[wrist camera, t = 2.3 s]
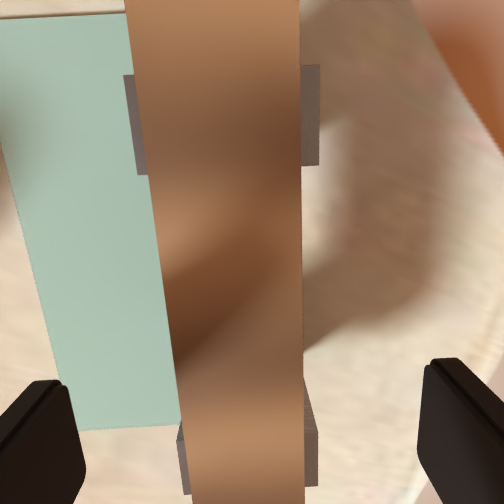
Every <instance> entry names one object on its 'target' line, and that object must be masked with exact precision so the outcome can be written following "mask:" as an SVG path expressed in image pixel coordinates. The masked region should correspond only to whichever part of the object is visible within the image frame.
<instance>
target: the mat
mask: <svg viewBox="0 0 504 504" xmlns="http://www.w3.org/2000/svg"><path fill="white" fill-rule="evenodd" d="M133 74H134V70H133V62H132V55H131V48H130V40H129V33H128V26H127V19H126V13H123V14H103V15H83V16H63V17H43V18H24V19H4V20H0V144H1V148H2V152H3V156H4V160H5V164H6V168H7V172H8V176H9V180H10V184H11V188H12V192H13V196H14V200H15V204H16V208H17V212H18V216H19V220H20V224H21V228H22V232H23V236H24V240H25V244H26V247H27V251H28V255H29V259H30V263H31V267H32V271H33V275H34V279H35V283H36V287H37V291H38V295H39V299H40V303H41V307H42V311H43V315H44V319H45V323H46V327H47V331H48V335H49V339H50V343H51V347H52V351H53V355H54V359H55V363H56V367H57V371H58V375H59V379H60V382H61V383H62V385H66V386H67V387H68V390H69V395H70V399H71V403H72V408H73V412H74V416H75V421H76V425H77V429H78V431H85V430H101V429H117V428H132V427H148V426H164V425H179V424H180V422H181V413H180V406H179V398H178V391H177V384H176V376H175V369H174V362H173V355H172V347H171V340H170V333H169V325H168V318H167V311H166V303H165V296H164V289H163V281H162V274H161V267H160V260H159V252H158V245H157V238H156V230H155V223H154V216H153V208H152V201H151V194H150V187H149V179H148V175H137V169H136V162H135V155H134V148H133V141H132V134H131V127H130V120H129V114H128V107H127V100H126V93H125V86H124V79H123V75H133Z"/></svg>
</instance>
